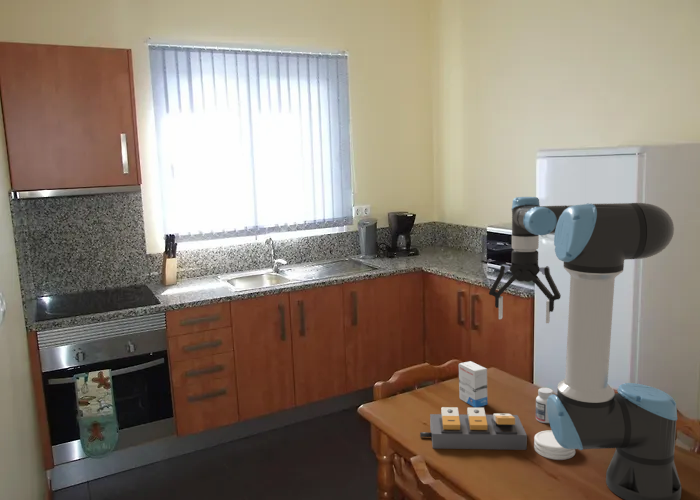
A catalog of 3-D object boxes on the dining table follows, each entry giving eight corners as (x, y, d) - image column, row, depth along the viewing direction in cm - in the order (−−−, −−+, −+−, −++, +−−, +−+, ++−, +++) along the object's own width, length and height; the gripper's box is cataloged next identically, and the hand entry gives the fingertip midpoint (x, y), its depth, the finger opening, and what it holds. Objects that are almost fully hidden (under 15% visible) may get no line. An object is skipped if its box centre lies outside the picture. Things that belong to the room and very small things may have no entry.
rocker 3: (515, 424, 150) (514, 417, 150) (497, 424, 150) (497, 417, 150) (510, 419, 157) (509, 413, 157) (493, 419, 157) (493, 413, 157)
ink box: (488, 405, 177) (488, 368, 176) (474, 408, 175) (474, 371, 174) (471, 395, 185) (471, 360, 183) (457, 398, 183) (457, 362, 181)
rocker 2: (487, 430, 151) (487, 424, 151) (470, 429, 152) (470, 424, 151) (483, 412, 158) (483, 407, 157) (467, 412, 158) (467, 407, 157)
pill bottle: (552, 415, 169) (553, 386, 168) (556, 423, 164) (557, 393, 163) (533, 415, 170) (534, 386, 168) (537, 423, 164) (538, 393, 163)
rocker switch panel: (526, 449, 150) (526, 430, 149) (421, 448, 152) (420, 429, 151) (517, 428, 162) (517, 410, 161) (419, 427, 164) (419, 409, 163)
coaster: (562, 440, 155) (562, 427, 154) (583, 458, 145) (583, 445, 145) (527, 444, 153) (527, 431, 153) (545, 463, 144) (545, 449, 143)
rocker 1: (460, 429, 152) (460, 424, 151) (443, 429, 152) (443, 424, 152) (457, 412, 158) (457, 407, 158) (441, 411, 159) (441, 407, 158)
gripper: (571, 249, 168) (569, 320, 172) (484, 246, 179) (484, 313, 182) (569, 253, 162) (567, 327, 165) (479, 250, 172) (479, 319, 175)
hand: (523, 320), depth 173 cm, fingers open, 13 cm apart
